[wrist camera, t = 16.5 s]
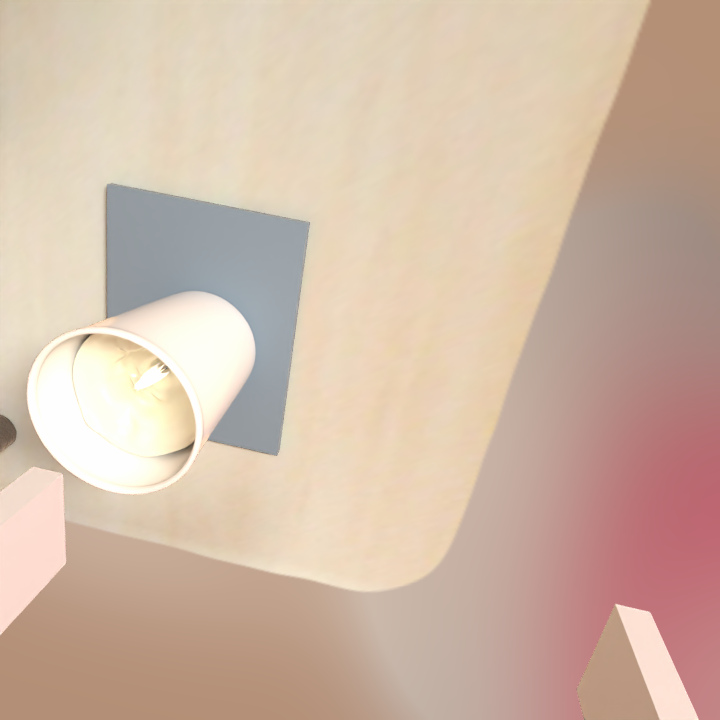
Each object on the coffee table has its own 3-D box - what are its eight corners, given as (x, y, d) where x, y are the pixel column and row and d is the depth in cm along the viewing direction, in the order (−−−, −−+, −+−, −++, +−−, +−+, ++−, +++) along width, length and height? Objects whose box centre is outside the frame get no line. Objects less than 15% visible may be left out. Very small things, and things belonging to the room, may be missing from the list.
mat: (111, 183, 38) (106, 183, 37) (309, 222, 37) (307, 223, 36) (111, 413, 44) (107, 417, 44) (279, 451, 43) (277, 455, 43)
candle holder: (235, 260, 38) (149, 304, 27) (287, 387, 41) (229, 474, 29) (116, 302, 40) (-9, 358, 29) (173, 419, 43) (79, 511, 32)
